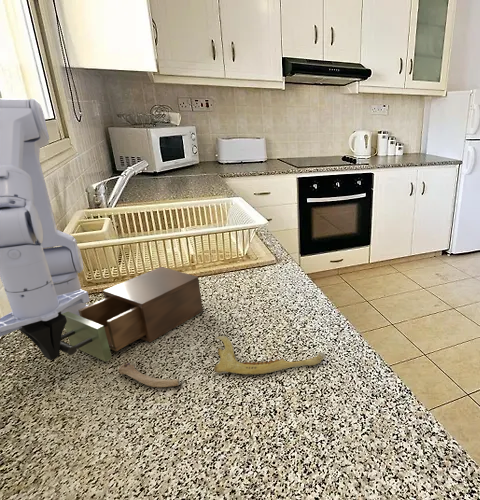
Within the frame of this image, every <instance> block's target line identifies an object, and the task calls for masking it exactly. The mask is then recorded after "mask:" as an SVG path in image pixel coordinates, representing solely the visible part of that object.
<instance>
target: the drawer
mask: <svg viewBox="0 0 480 500" xmlns="http://www.w3.org/2000/svg"><path fill="white" fill-rule="evenodd" d="M88 305H89V306H86V307H84V308H82V309H79V310H78V311H79V314H80V316H78V315H76V314H73V313H71V312H69V311H68V312H65V313H63V314H62V315H65V316H66V319H67V322H66V324H65V327H64V329H65V332H66V333H64V334H62V336H61V341H60V352H62V353H65V354H67V355H69V356H72V355H75V354H76V352H77V350H79V351H81V352H83V353H85V354H88V355H90V356H92V357H94V358H96V359H98V360H101V361H103V362H105V363H106V362H108V361H109V360H112V359H113V356H112V352H111V350H112V351H113V352H118V351H121V349H123V348H125V347H128V346H129V345H131V344H133V343H134V342H136V341H137V340H139V339H140V338H141V337H143V336H144V335H146V333H145V328H144V324H143V319H142V314H141V309H140V307H139V306H136V305H134V304H131V303H128V302H125V301H122V300H119V299H116V298H114V297H111V296H109V297H107V298H102V299H101V300H98V301H95V302H94V303H91V304H88ZM65 339H68V342H69V343H68V342H65V341H63V340H65Z"/></svg>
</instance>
